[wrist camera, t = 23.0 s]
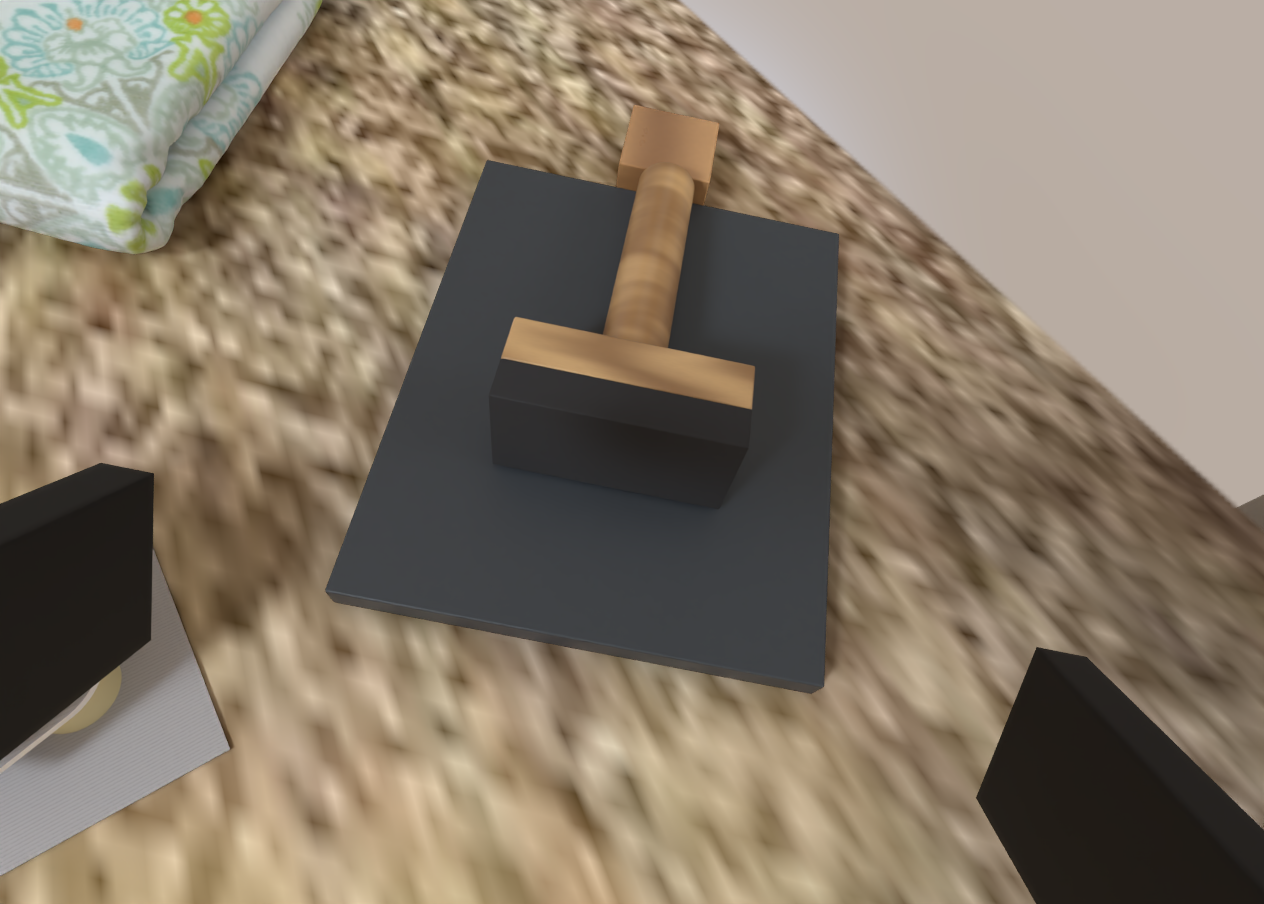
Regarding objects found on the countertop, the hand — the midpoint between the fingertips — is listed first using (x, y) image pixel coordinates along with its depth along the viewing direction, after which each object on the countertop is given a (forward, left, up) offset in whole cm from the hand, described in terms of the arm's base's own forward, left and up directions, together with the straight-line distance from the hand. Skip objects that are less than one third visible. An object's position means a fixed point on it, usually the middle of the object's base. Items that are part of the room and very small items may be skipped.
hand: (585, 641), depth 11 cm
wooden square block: (0, -25, -13) cm, 29 cm away
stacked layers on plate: (+16, +1, -14) cm, 21 cm away
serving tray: (0, -13, -13) cm, 19 cm away
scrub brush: (0, -9, -10) cm, 13 cm away
